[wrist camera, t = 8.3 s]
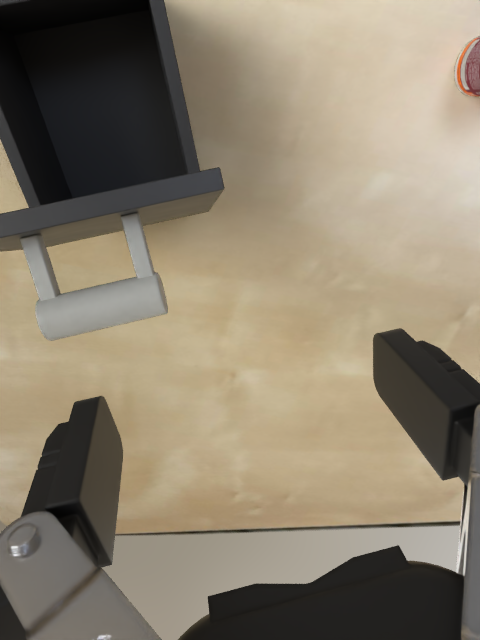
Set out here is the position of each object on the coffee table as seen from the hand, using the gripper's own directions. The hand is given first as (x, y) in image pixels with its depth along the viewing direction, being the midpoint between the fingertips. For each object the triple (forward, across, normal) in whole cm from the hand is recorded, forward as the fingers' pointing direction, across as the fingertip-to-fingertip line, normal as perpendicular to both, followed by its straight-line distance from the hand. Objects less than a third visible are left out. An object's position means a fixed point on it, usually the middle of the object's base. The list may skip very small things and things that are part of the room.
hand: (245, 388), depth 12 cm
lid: (+13, +5, -3) cm, 14 cm away
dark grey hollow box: (+30, +5, -8) cm, 31 cm away
